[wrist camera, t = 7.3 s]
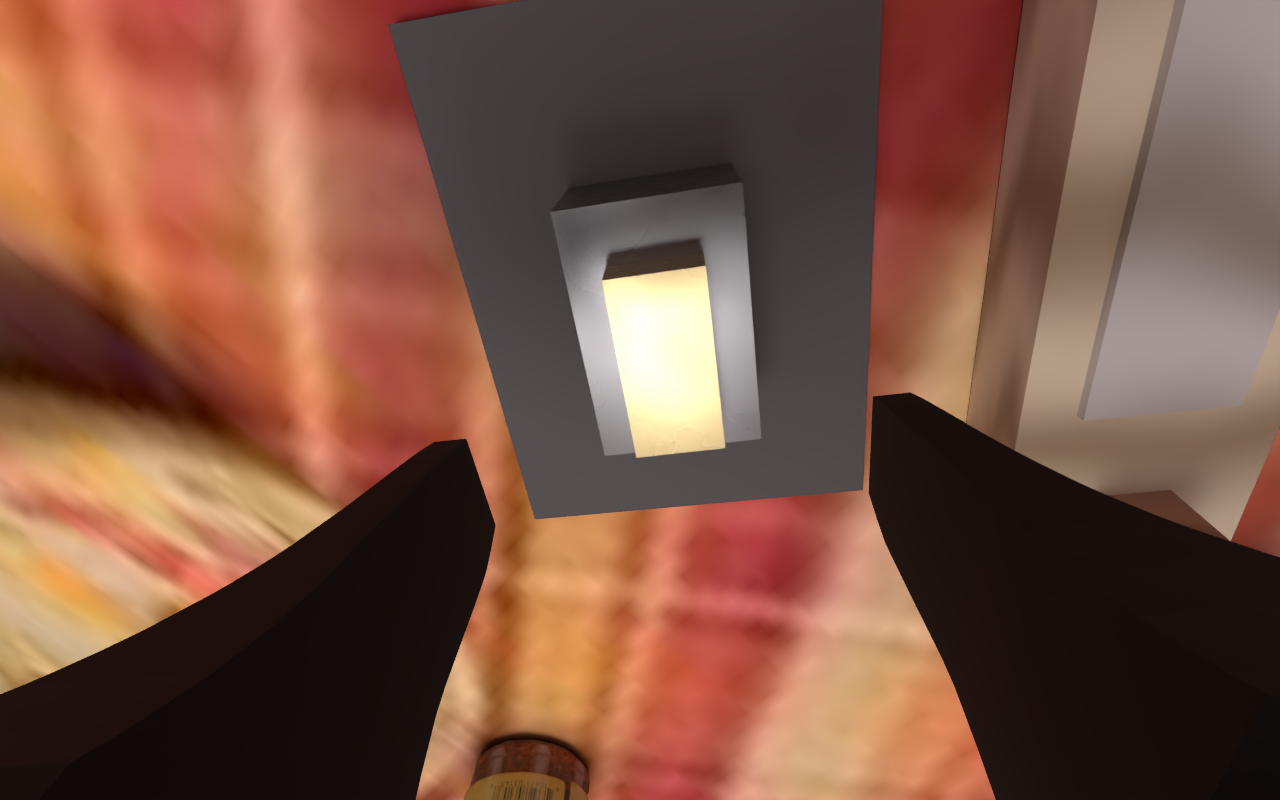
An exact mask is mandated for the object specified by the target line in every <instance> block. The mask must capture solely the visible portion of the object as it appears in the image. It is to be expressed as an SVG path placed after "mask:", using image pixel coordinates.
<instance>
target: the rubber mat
mask: <svg viewBox="0 0 1280 800" xmlns="http://www.w3.org/2000/svg"><path fill="white" fill-rule="evenodd" d="M882 4H883V0H522V1H516V2H511V3H505V4H500V5H494V6H489V7H483V8H478V9H472V10H467V11H461V12H456V13H450V14H445V15H439V16H434V17H429V18H423V19H418V20H412V21H407V22H401V23H396V24H390V25H389V29H390V32H391V35H392V39H393V42H394V46H395V49H396V52H397V56H398V59H399V62H400V66H401V69H402V73H403V76H404V79H405V83H406V86H407V89H408V93H409V96H410V99H411V103H412V106H413V110H414V113H415V116H416V120H417V123H418V126H419V130H420V133H421V137H422V140H423V143H424V147H425V150H426V153H427V157H428V160H429V163H430V167H431V170H432V174H433V177H434V180H435V184H436V187H437V190H438V194H439V197H440V200H441V204H442V207H443V211H444V214H445V217H446V221H447V224H448V227H449V231H450V234H451V238H452V241H453V244H454V248H455V251H456V254H457V258H458V261H459V264H460V268H461V271H462V275H463V278H464V281H465V285H466V288H467V291H468V295H469V298H470V302H471V305H472V308H473V312H474V315H475V318H476V322H477V325H478V328H479V332H480V335H481V339H482V342H483V345H484V349H485V352H486V355H487V359H488V362H489V365H490V369H491V372H492V376H493V379H494V382H495V386H496V389H497V392H498V396H499V399H500V403H501V406H502V409H503V413H504V416H505V419H506V423H507V426H508V429H509V433H510V436H511V440H512V443H513V446H514V450H515V453H516V456H517V460H518V463H519V467H520V470H521V473H522V477H523V480H524V483H525V487H526V490H527V493H528V497H529V500H530V504H531V507H532V510H533V514H534V517H535V519H544V518H555V517H566V516H577V515H589V514H600V513H611V512H622V511H633V510H644V509H656V508H667V507H678V506H689V505H700V504H711V503H723V502H734V501H745V500H756V499H767V498H779V497H790V496H801V495H812V494H823V493H834V492H846V491H857V490H863V476H864V451H865V426H866V402H867V377H868V352H869V327H870V302H871V277H872V252H873V227H874V203H875V178H876V153H877V128H878V103H879V78H880V53H881V29H882ZM728 162H731V163H732V165H733V167H734V168H735V170H736V172H737V173H738V175H739V177H740V178H741V180H742V182H743V193H744V207H745V221H746V234H747V248H748V262H749V276H750V289H751V303H752V317H753V331H754V345H755V358H756V372H757V386H758V400H759V413H760V427H761V439H755V440H746V441H737V442H728V443H725V448H722V449H713V450H704V451H694V452H685V453H676V454H667V455H657V456H648V457H639V458H636V453H627V454H618V455H609V456H605V454H604V449H603V445H602V440H601V436H600V432H599V427H598V423H597V418H596V414H595V409H594V405H593V400H592V396H591V392H590V387H589V383H588V378H587V374H586V369H585V365H584V360H583V356H582V352H581V347H580V343H579V338H578V334H577V329H576V325H575V321H574V316H573V312H572V307H571V303H570V298H569V294H568V289H567V285H566V281H565V276H564V272H563V267H562V263H561V258H560V254H559V249H558V245H557V241H556V236H555V232H554V227H553V223H552V218H551V214H550V211H551V210H552V209H553V208H554V206H555V205H556V204H557V202H558V201H559V200H560V198H561V197H562V196H563V194H564V193H565V192H566V190H567V189H568V188H572V187H578V186H584V185H591V184H597V183H603V182H609V181H616V180H622V179H628V178H634V177H641V176H647V175H653V174H659V173H665V172H672V171H678V170H684V169H690V168H697V167H703V166H709V165H715V164H722V163H728Z"/></svg>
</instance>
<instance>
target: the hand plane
mask: <svg viewBox="0 0 1280 800" xmlns="http://www.w3.org/2000/svg"><path fill="white" fill-rule="evenodd" d="M966 424H968V425H970V426H972V427H973V428H975V429H977V430H979V431H980V432H982V433H984V434H986V435H987V436H989V437H991V438H993V439H995V440H996V441H998V442H1000V443H1002V444H1004V445H1005V446H1007V447H1009V448H1011V449H1013V450H1015V451H1017V452H1019V453H1020V454H1022V455H1024V456H1026V457H1028V458H1030V459H1032V460H1034V461H1036V462H1038V463H1040V464H1042V465H1044V466H1046V467H1048V468H1050V469H1052V470H1054V471H1056V472H1058V473H1060V474H1062V475H1064V476H1066V477H1069V478H1071V479H1073V480H1075V481H1077V482H1079V483H1081V484H1083V485H1085V486H1088V487H1090V488H1092V489H1094V490H1097V491H1099V492H1101V493H1103V494H1106V495H1108V496H1111V497H1113V498H1116V499H1118V500H1120V501H1123V502H1125V503H1128V504H1130V505H1133V506H1135V507H1138V508H1140V509H1142V510H1145V511H1147V512H1150V513H1152V514H1155V515H1157V516H1160V517H1162V518H1165V519H1168V520H1171V521H1173V522H1176V523H1179V524H1181V525H1184V526H1187V527H1190V528H1192V529H1195V530H1198V531H1201V532H1204V533H1207V534H1210V535H1213V536H1216V537H1219V538H1222V539H1225V540H1228V541H1231V539H1232V537H1233V535H1234V532H1235V530H1236V528H1237V525H1238V523H1239V521H1240V518H1241V516H1242V514H1243V511H1244V509H1245V507H1246V504H1247V502H1248V500H1249V498H1250V495H1251V493H1252V491H1253V488H1254V486H1255V484H1256V481H1257V479H1258V477H1259V474H1260V472H1261V470H1262V467H1263V465H1264V463H1265V460H1266V458H1267V456H1268V453H1269V451H1270V449H1271V446H1272V444H1273V442H1274V439H1275V437H1276V435H1277V433H1278V430H1279V428H1280V0H1024V1H1023V8H1022V16H1021V23H1020V31H1019V38H1018V45H1017V53H1016V60H1015V68H1014V75H1013V83H1012V90H1011V97H1010V105H1009V112H1008V120H1007V127H1006V134H1005V142H1004V149H1003V157H1002V164H1001V171H1000V179H999V186H998V194H997V201H996V208H995V216H994V223H993V231H992V238H991V245H990V253H989V260H988V268H987V275H986V283H985V290H984V297H983V305H982V312H981V320H980V327H979V334H978V342H977V349H976V357H975V364H974V371H973V379H972V386H971V394H970V401H969V408H968V416H967V423H966Z"/></svg>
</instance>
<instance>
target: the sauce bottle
mask: <svg viewBox="0 0 1280 800" xmlns="http://www.w3.org/2000/svg"><path fill="white" fill-rule="evenodd" d="M588 791H589V775H588V771H587V769H586V768H585V766H584V765H583V764H582V762H581V761H580V760H578V759H577V758H576V756H575V755H574V754H572V753H571V752H570V751H568V750H567V749H565V748H563V747H560V746H558V745H556V744H553V743H547V742H545V741H539V740H528V739H523V740H509V741H506V742H503V743H501V744H499V745H495V746H493V747H492V748H491V749H489V750H487V751H486V752H485V753H484V754H482V755H481V756H480V758H479V759H478V761H477V765H476V768H475V771H474V774H473V777H472V781H471V785H470V788H469V789H468V790H467V792H466V794H465V797H464V800H588V796H587V794H588Z"/></svg>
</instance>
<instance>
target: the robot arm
mask: <svg viewBox="0 0 1280 800" xmlns="http://www.w3.org/2000/svg"><path fill="white" fill-rule="evenodd" d="M869 495H870V498H871V501H872V505H873V508H874V511H875V514H876V517H877V520H878V523H879V526H880V529H881V532H882V535H883V538H884V540H885V543H886V545H887V547H888V549H889V552H890V554H891V556H892V558H893V560H894V562H895V564H896V566H897V568H898V570H899V572H900V574H901V576H902V578H903V580H904V582H905V584H906V587H907V589H908V591H909V593H910V595H911V597H912V599H913V601H914V603H915V605H916V607H917V609H918V611H919V613H920V615H921V617H922V619H923V621H924V623H925V625H926V627H927V629H928V631H929V633H930V635H931V637H932V639H933V641H934V643H935V645H936V647H937V649H938V651H939V653H940V655H941V657H942V659H943V661H944V664H945V666H946V668H947V670H948V673H949V675H950V677H951V679H952V682H953V684H954V686H955V689H956V692H957V694H958V697H959V700H960V702H961V705H962V708H963V710H964V713H965V716H966V718H967V721H968V724H969V726H970V729H971V732H972V734H973V737H974V740H975V742H976V745H977V748H978V750H979V753H980V756H981V759H982V762H983V765H984V767H985V770H986V773H987V776H988V779H989V782H990V784H991V787H992V790H993V793H994V796H995V799H996V800H1280V557H1277V556H1273V555H1270V554H1267V553H1263V552H1260V551H1257V550H1254V549H1251V548H1248V547H1245V546H1242V545H1239V544H1236V543H1234V542H1231V541H1228V540H1225V539H1222V538H1219V537H1216V536H1213V535H1210V534H1207V533H1204V532H1201V531H1198V530H1195V529H1192V528H1190V527H1187V526H1184V525H1181V524H1179V523H1176V522H1173V521H1171V520H1168V519H1165V518H1162V517H1160V516H1157V515H1155V514H1152V513H1150V512H1147V511H1145V510H1142V509H1140V508H1138V507H1135V506H1133V505H1130V504H1128V503H1125V502H1123V501H1120V500H1118V499H1116V498H1113V497H1111V496H1108V495H1106V494H1103V493H1101V492H1099V491H1097V490H1094V489H1092V488H1090V487H1088V486H1085V485H1083V484H1081V483H1079V482H1077V481H1075V480H1073V479H1071V478H1069V477H1066V476H1064V475H1062V474H1060V473H1058V472H1056V471H1054V470H1052V469H1050V468H1048V467H1046V466H1044V465H1042V464H1040V463H1038V462H1036V461H1034V460H1032V459H1030V458H1028V457H1026V456H1024V455H1022V454H1020V453H1019V452H1017V451H1015V450H1013V449H1011V448H1009V447H1007V446H1005V445H1004V444H1002V443H1000V442H998V441H996V440H995V439H993V438H991V437H989V436H987V435H986V434H984V433H982V432H980V431H979V430H977V429H975V428H973V427H972V426H970V425H968V424H966V423H965V422H963V421H961V420H959V419H958V418H956V417H954V416H952V415H951V414H949V413H947V412H946V411H944V410H942V409H940V408H939V407H937V406H935V405H933V404H932V403H930V402H928V401H926V400H924V399H922V398H920V397H919V396H916V395H914V394H912V393H903V394H893V395H883V396H874V397H873V410H872V432H871V454H870V476H869ZM494 531H495V522H494V519H493V516H492V514H491V511H490V508H489V505H488V502H487V499H486V496H485V493H484V490H483V487H482V484H481V481H480V478H479V475H478V472H477V469H476V466H475V463H474V460H473V457H472V454H471V452H470V449H469V446H468V443H467V440H466V439H459V440H450V441H440V442H434V443H432V444H431V445H429V446H427V447H426V448H424V449H423V450H421V451H420V452H418V453H417V454H415V455H414V456H412V457H411V458H410V459H408V460H407V461H406V462H404V463H403V464H402V465H400V466H399V467H398V468H396V469H395V470H394V471H392V472H391V473H390V474H388V475H387V476H386V477H385V478H383V479H382V480H381V481H379V482H378V483H377V484H375V485H374V486H373V487H371V488H370V489H369V490H367V491H366V492H365V493H363V494H362V495H361V496H360V497H358V498H357V499H356V500H354V501H353V502H352V503H350V504H349V505H348V506H346V507H345V508H344V509H342V510H341V511H339V512H338V513H337V514H335V515H334V516H332V517H331V518H330V519H328V520H327V521H325V522H324V523H322V524H321V525H320V526H318V527H317V528H315V529H314V530H313V531H311V532H310V533H308V534H307V535H306V536H304V537H303V538H301V539H300V540H298V541H297V542H296V543H294V544H293V545H291V546H290V547H288V548H287V549H285V550H284V551H282V552H281V553H279V554H278V555H276V556H275V557H273V558H271V559H270V560H268V561H267V562H265V563H264V564H262V565H260V566H259V567H257V568H255V569H254V570H252V571H250V572H249V573H247V574H245V575H244V576H242V577H240V578H239V579H237V580H235V581H234V582H232V583H231V584H229V585H227V586H225V587H224V588H222V589H220V590H218V591H217V592H215V593H213V594H211V595H209V596H207V597H206V598H204V599H202V600H200V601H198V602H196V603H194V604H192V605H191V606H189V607H187V608H185V609H183V610H181V611H179V612H177V613H175V614H174V615H172V616H170V617H168V618H166V619H164V620H162V621H160V622H159V623H157V624H155V625H153V626H151V627H149V628H147V629H145V630H143V631H141V632H139V633H137V634H135V635H133V636H131V637H129V638H127V639H125V640H123V641H121V642H118V643H116V644H114V645H112V646H110V647H108V648H106V649H104V650H102V651H100V652H97V653H95V654H93V655H91V656H89V657H86V658H84V659H82V660H80V661H77V662H75V663H73V664H71V665H69V666H66V667H64V668H62V669H60V670H57V671H55V672H53V673H51V674H48V675H46V676H44V677H41V678H39V679H37V680H34V681H32V682H30V683H27V684H25V685H23V686H20V687H18V688H15V689H13V690H10V691H8V692H5V693H3V694H0V800H416V796H417V791H418V787H419V782H420V778H421V773H422V769H423V765H424V761H425V757H426V753H427V749H428V745H429V741H430V737H431V733H432V729H433V725H434V721H435V717H436V714H437V710H438V707H439V704H440V701H441V698H442V695H443V692H444V688H445V685H446V683H447V680H448V677H449V674H450V672H451V669H452V666H453V663H454V661H455V658H456V655H457V653H458V650H459V647H460V644H461V642H462V639H463V636H464V633H465V631H466V628H467V625H468V622H469V620H470V617H471V614H472V611H473V609H474V606H475V603H476V600H477V597H478V594H479V592H480V589H481V586H482V583H483V580H484V577H485V574H486V570H487V565H488V561H489V556H490V552H491V547H492V541H493V536H494Z"/></svg>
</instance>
